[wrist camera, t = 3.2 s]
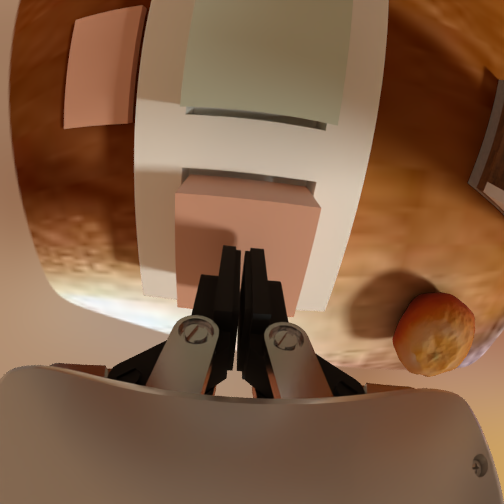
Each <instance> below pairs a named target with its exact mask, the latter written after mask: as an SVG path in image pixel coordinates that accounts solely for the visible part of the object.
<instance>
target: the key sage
mask: <svg viewBox="0 0 504 504" xmlns="http://www.w3.org/2000/svg"><path fill="white" fill-rule="evenodd" d="M352 9H353V0H195V4H194V9H193V14H192V20H191V26H190V31H189V38H188V44H187V51H186V58H185V65H184V73H183V82H182V91H181V101H180V107H208V108H224V109H236V110H247V111H256V112H264V113H271V114H278V115H285V116H291V117H297V118H303V119H308V120H314V121H319V122H324V123H328V124H333V125H337V126H338V121H339V115H340V109H341V103H342V96H343V89H344V82H345V75H346V67H347V59H348V51H349V42H350V32H351V21H352Z"/></svg>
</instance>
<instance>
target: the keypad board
mask: <svg viewBox="0 0 504 504" xmlns="http://www.w3.org/2000/svg"><path fill="white" fill-rule="evenodd" d="M388 3H389V0H353V9H352V21H351V32H350V42H349V51H348V59H347V67H346V75H345V82H344V89H343V96H342V103H341V109H340V115H339V121H338V126H337V125H333V124H328V123H324V122H319V121H314V120H308V119H303V118H297V117H291V116H285V115H278V114H271V113H264V112H256V111H247V110H236V109H224V108H208V107H180V101H181V91H182V82H183V73H184V65H185V58H186V51H187V44H188V38H189V31H190V26H191V20H192V14H193V9H194V4H195V0H151V5H150V9H149V14H148V19H147V24H146V30H145V35H144V41H143V48H142V55H141V62H140V70H139V79H138V89H137V101H136V116H135V138H134V190H135V214H136V229H137V242H138V253H139V263H140V271H141V280H142V287H143V294H144V296H152V297H159V298H167V299H175V300H177V287H176V261H175V193H176V191H177V190H178V189H179V187H180V186H181V185H182V184H183V183H184V181H185V180H186V179H187V178H188V176H189V175H190V174H194V175H208V176H220V177H231V178H241V179H251V180H260V181H268V182H276V183H284V184H291V185H299V186H306V187H307V188H308V190H309V191H310V192H311V194H312V195H313V197H314V198H315V200H316V201H317V202H318V204H319V205H320V207H321V212H320V217H319V221H318V226H317V230H316V234H315V238H314V242H313V246H312V250H311V254H310V258H309V262H308V266H307V270H306V274H305V278H304V281H303V285H302V289H301V292H300V296H299V300H298V303H297V307H296V310H306V311H325V309H326V306H327V304H328V301H329V298H330V295H331V292H332V289H333V286H334V283H335V280H336V277H337V274H338V271H339V268H340V265H341V262H342V259H343V255H344V252H345V249H346V246H347V242H348V239H349V235H350V232H351V228H352V225H353V221H354V218H355V214H356V210H357V206H358V203H359V199H360V195H361V191H362V187H363V182H364V178H365V174H366V169H367V165H368V160H369V156H370V151H371V146H372V141H373V136H374V131H375V125H376V119H377V114H378V107H379V101H380V94H381V87H382V80H383V72H384V63H385V53H386V41H387V27H388Z"/></svg>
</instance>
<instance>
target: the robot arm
mask: <svg viewBox="0 0 504 504" xmlns="http://www.w3.org/2000/svg"><path fill="white" fill-rule="evenodd" d="M240 271H241V250H236V246H227V245H223V249H222V255H221V262H220V269H219V276H214V275H204V274H201V276H200V280H199V285H198V289H197V293H196V298H195V302H194V306H193V311H192V315H191V316H187V317H184V318H182V319H180V320H179V321H177V323H176V324H175V325H174V327H173V329H172V331H171V333H170V335H169V337H168V340H166V341H164V342H162V343H161V344H158V345H156V346H154V347H152V348H150V349H148V350H146V351H144V352H142V353H140V354H138V355H136V356H134V357H132V358H130V359H128V360H126V361H123V362H121V363H119V364H118V365H116V366H114V367H113V368H112V369H107V368H106V366H101V365H79V364H64V363H55V364H52V365H50V366H43V365H31V366H22V367H17V368H14V369H12V370H10V371H8V372H7V373H6V374H5V375H4V376H3V377H2V378H1V379H0V504H504V501H503V496H502V491H501V486H500V482H499V478H498V475H497V471H496V468H495V464H494V461H493V458H492V455H491V452H490V449H489V446H488V443H487V441H486V438H485V436H484V433H483V431H482V429H481V426H480V424H479V422H478V420H477V418H476V417H475V415H474V413H473V411H472V409H471V408H470V406H469V405H468V404H467V402H466V401H465V400H464V399H463V398H462V397H460V396H459V395H457V394H455V393H452V392H449V391H444V390H439V389H427V388H422V389H414V388H411V387H405V386H392V385H380V384H370V383H366V384H365V386H362V385H361V384H360V383H359V382H358V381H357V380H355V379H354V378H352V377H351V376H349V375H347V374H346V373H344V372H343V371H341V370H340V369H338V368H337V367H335V366H334V365H332V364H330V363H329V362H327V361H326V360H324V359H323V358H321V357H320V356H318V355H317V354H315V352H314V349H313V347H312V345H311V342H310V340H309V338H308V336H307V334H306V332H305V331H304V330H303V329H302V328H300V327H299V326H297V325H295V324H292V323H288V318H287V312H286V306H285V301H284V295H283V290H282V284H281V282H280V281H271V280H268V278H267V270H266V261H265V253H264V249H259V248H250V251H245V255H244V264H243V272H242V280H241V289H240ZM237 328H238V341H237V371H242V379H245V380H246V381H247V382H248V383H249V384H250V385H252V394H253V398H239V397H224V396H214V395H215V391H216V385H217V384H219V383H220V382H221V381H223V380H225V379H226V377H227V370H232V369H233V361H234V353H235V345H236V336H237Z"/></svg>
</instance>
